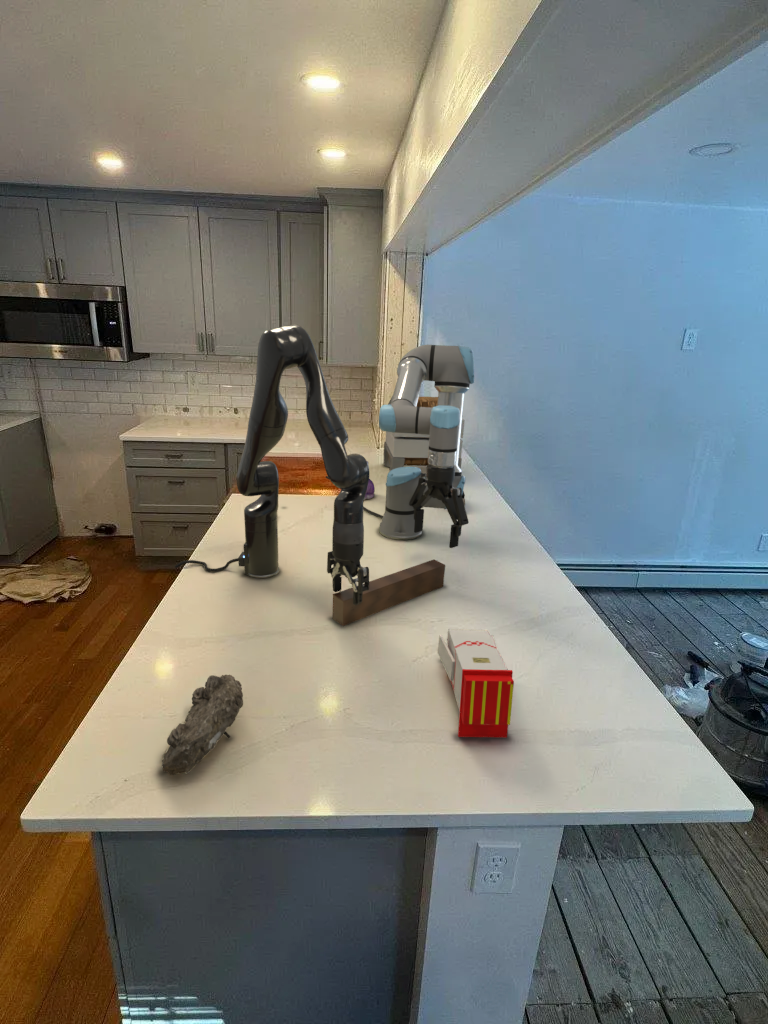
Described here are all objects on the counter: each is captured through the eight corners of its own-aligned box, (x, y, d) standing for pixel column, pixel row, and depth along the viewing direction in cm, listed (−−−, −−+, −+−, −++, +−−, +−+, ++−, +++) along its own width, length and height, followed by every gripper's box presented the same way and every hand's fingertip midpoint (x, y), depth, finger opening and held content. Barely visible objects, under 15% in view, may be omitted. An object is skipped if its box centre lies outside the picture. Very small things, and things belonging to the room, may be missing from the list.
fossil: (189, 675, 113) (243, 642, 108) (223, 706, 116) (276, 676, 111) (136, 768, 93) (198, 733, 88) (177, 802, 96) (240, 771, 91)
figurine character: (465, 515, 224) (460, 499, 237) (467, 498, 221) (462, 483, 234) (448, 515, 224) (444, 499, 237) (450, 498, 220) (445, 482, 234)
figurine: (359, 501, 230) (360, 466, 225) (349, 494, 239) (349, 459, 234) (379, 499, 235) (381, 464, 230) (369, 491, 243) (370, 458, 238)
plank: (342, 626, 141) (343, 601, 138) (332, 618, 144) (332, 594, 142) (443, 586, 163) (445, 564, 161) (432, 580, 166) (433, 559, 164)
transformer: (382, 463, 289) (386, 382, 275) (445, 464, 293) (451, 384, 279) (390, 482, 257) (394, 392, 243) (460, 483, 261) (468, 394, 247)
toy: (488, 613, 130) (523, 677, 101) (484, 667, 133) (517, 744, 104) (435, 612, 130) (455, 676, 101) (432, 666, 133) (451, 743, 103)
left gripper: (318, 531, 139) (318, 591, 144) (353, 550, 129) (352, 613, 134) (343, 525, 144) (342, 583, 149) (379, 543, 133) (376, 604, 139)
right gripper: (399, 457, 157) (395, 528, 164) (467, 478, 140) (460, 557, 147) (418, 453, 162) (414, 522, 169) (487, 474, 144) (478, 550, 152)
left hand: (347, 597), depth 142 cm, fingers open, 8 cm apart
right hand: (435, 539), depth 158 cm, fingers open, 13 cm apart
